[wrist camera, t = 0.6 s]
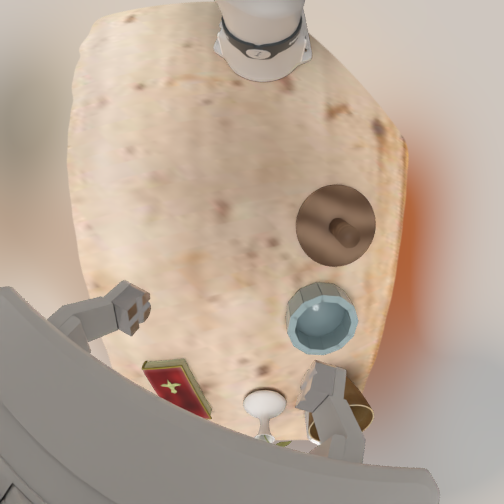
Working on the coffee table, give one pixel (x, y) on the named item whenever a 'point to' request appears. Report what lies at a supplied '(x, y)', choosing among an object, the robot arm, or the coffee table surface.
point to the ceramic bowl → (320, 319)
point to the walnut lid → (335, 225)
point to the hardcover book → (177, 385)
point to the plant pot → (357, 405)
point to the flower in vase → (265, 411)
